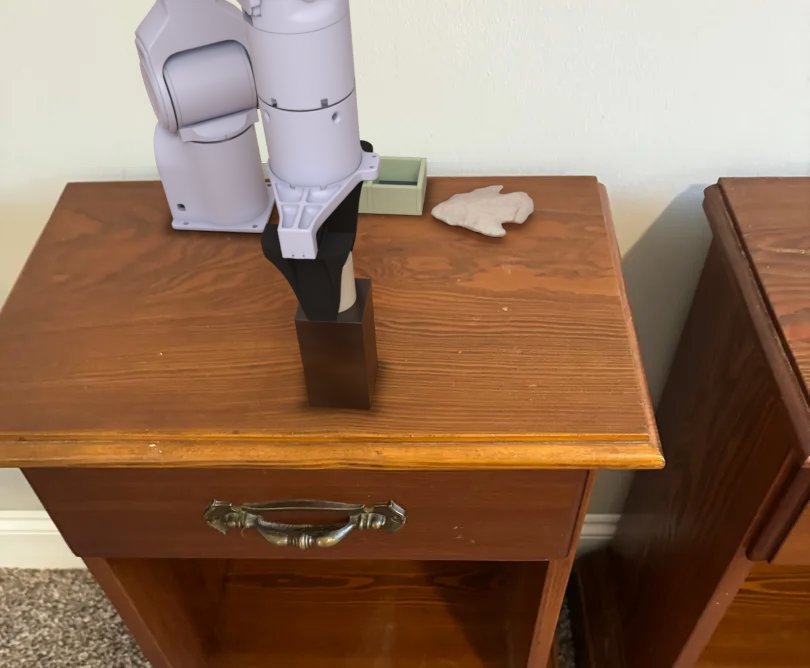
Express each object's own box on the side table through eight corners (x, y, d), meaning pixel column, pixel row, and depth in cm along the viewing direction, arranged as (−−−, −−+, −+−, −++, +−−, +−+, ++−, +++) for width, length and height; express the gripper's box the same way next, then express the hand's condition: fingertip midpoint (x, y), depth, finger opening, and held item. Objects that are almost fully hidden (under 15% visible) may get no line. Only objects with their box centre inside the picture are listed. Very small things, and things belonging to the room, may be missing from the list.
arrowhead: (530, 199, 79) (432, 192, 79) (534, 175, 77) (434, 168, 77) (531, 249, 75) (428, 241, 75) (536, 226, 72) (429, 218, 73)
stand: (310, 406, 63) (293, 319, 56) (320, 363, 66) (306, 275, 59) (370, 409, 63) (362, 322, 55) (378, 366, 66) (371, 278, 58)
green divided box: (320, 211, 78) (316, 184, 76) (329, 180, 81) (325, 154, 79) (421, 215, 77) (421, 188, 75) (426, 184, 80) (426, 157, 78)
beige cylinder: (306, 312, 56) (299, 271, 53) (314, 282, 58) (308, 240, 55) (352, 314, 56) (348, 273, 53) (359, 284, 58) (355, 242, 55)
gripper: (356, 158, 40) (373, 355, 52) (389, 28, 48) (397, 223, 59) (224, 154, 41) (269, 349, 52) (278, 26, 49) (307, 220, 60)
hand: (331, 282), depth 56 cm, fingers open, 7 cm apart
